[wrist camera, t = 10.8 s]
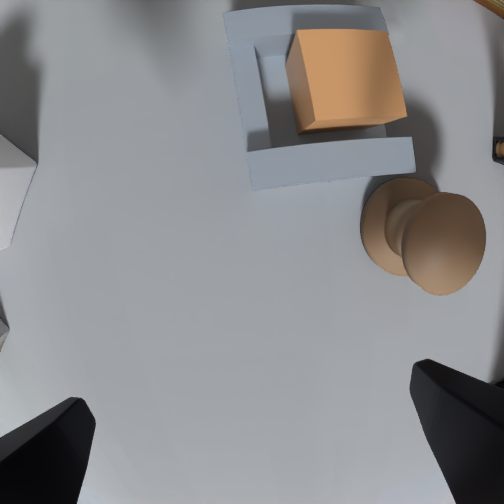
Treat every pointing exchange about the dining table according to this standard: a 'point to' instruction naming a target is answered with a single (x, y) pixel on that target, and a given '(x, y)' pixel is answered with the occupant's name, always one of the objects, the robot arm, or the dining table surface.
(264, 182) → the notched board
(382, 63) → the block
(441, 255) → the wooden knob
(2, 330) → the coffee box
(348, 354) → the dining table surface
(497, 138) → the ammunition clip
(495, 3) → the diary
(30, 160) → the medicine bottle
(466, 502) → the robot arm
